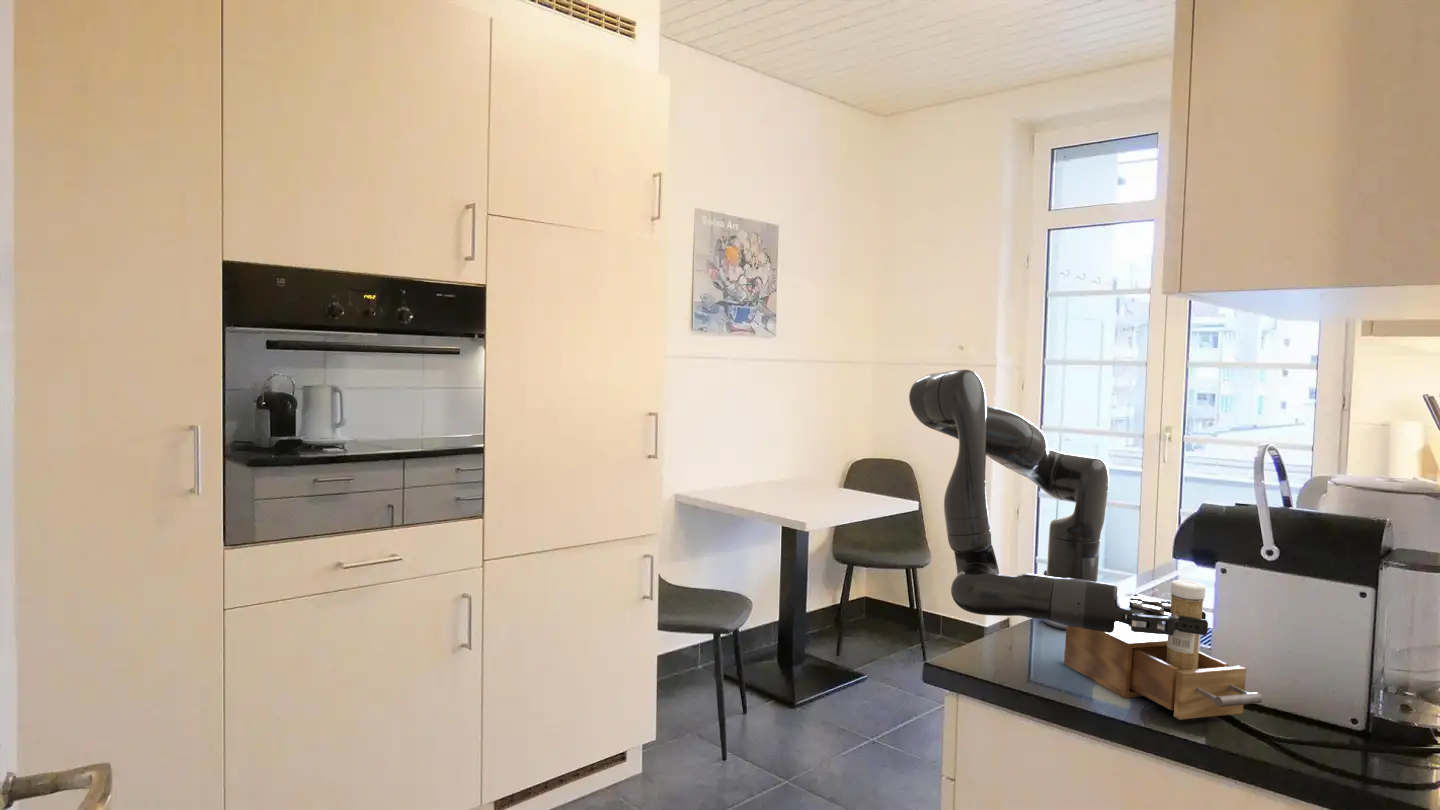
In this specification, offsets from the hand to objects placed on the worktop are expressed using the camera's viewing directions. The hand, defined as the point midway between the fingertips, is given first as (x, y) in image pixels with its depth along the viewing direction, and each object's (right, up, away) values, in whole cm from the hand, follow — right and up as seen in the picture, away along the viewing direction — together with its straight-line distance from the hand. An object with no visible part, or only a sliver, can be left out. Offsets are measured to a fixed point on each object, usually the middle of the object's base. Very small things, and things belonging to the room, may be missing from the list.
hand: (1205, 623), depth 132 cm
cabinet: (-6, -12, +13) cm, 19 cm away
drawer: (-2, -12, 0) cm, 13 cm away
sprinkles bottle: (-3, -8, +2) cm, 8 cm away
